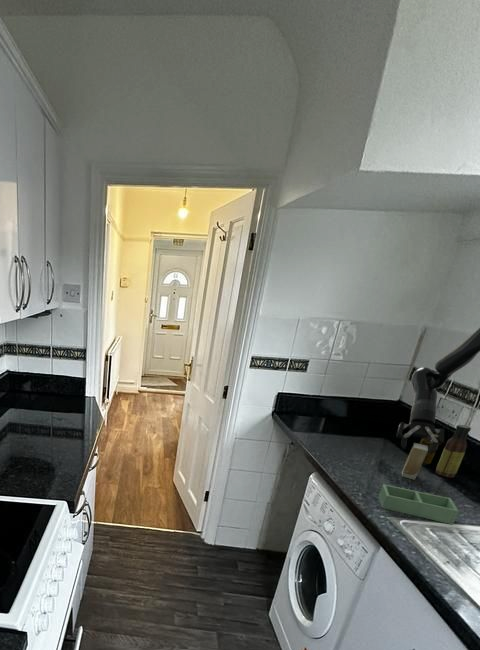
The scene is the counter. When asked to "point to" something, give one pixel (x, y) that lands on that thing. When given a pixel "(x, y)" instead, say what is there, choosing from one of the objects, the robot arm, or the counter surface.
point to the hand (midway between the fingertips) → (417, 450)
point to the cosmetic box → (414, 461)
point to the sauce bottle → (453, 452)
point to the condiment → (428, 456)
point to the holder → (418, 504)
